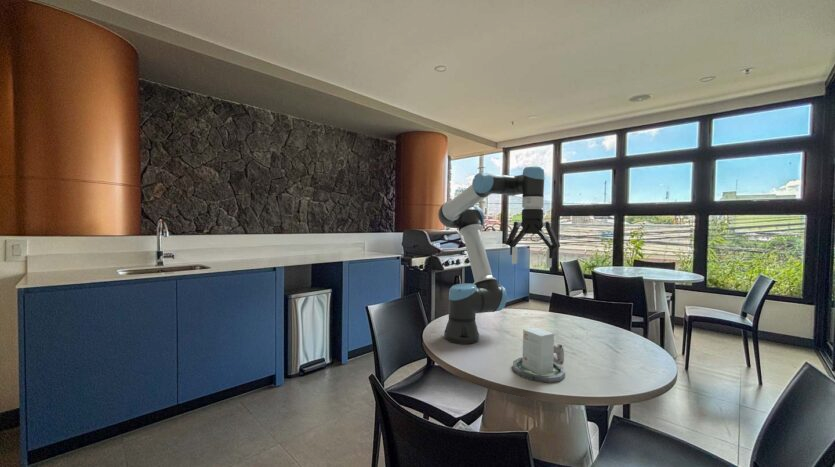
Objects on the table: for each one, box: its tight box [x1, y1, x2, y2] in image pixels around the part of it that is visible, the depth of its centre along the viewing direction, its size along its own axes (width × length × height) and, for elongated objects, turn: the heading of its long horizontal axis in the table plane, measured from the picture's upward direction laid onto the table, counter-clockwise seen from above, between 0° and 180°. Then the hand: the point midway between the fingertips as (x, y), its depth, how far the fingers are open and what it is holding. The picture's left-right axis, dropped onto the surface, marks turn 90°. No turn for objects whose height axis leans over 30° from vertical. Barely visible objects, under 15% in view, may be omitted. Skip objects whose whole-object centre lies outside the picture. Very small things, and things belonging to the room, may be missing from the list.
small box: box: [522, 327, 555, 375], centre depth 114 cm, size 8×6×13 cm
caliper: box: [554, 343, 565, 363], centre depth 132 cm, size 20×1×6 cm, turn 8°
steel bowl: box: [512, 357, 566, 384], centre depth 114 cm, size 16×16×2 cm
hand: (530, 265), depth 125 cm, fingers open, 13 cm apart
